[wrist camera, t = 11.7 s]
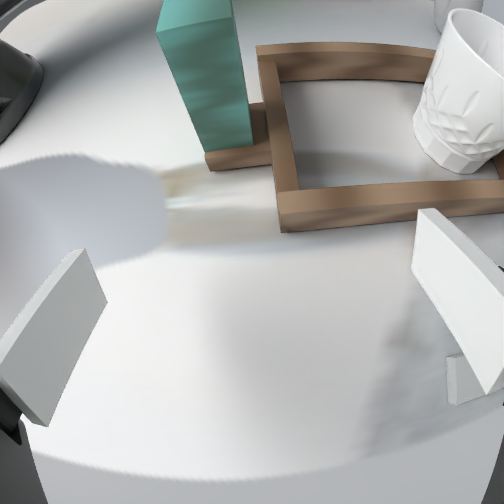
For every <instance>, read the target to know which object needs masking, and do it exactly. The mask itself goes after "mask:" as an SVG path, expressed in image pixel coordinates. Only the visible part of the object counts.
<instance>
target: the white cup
mask: <svg viewBox="0 0 504 504" xmlns="http://www.w3.org/2000/svg"><path fill="white" fill-rule="evenodd" d="M412 121H413V127H414V133H415V137H416V138H417V140H418V141H419V143H420V145H421V146H422V148H423V150H424V151H425V153H426V154H428V155H429V156H430V157H431V158H432V159H433V160H434V161H435V162H436V163H438V164H439V165H440V166H441V167H444V168H446V169H448V170H450V171H453V172H455V173H457V174H469V173H474V172H475V171H476V170H478V169H479V168H480V167H481V166H483V165H484V164H485V163H486V162H487V161H488V160H489V159H491V158H492V157H493V156H496V155H498V154H499V153H500V152H501V151H502V150H503V149H504V25H503V24H501V23H499V22H498V21H496V20H494V19H492V18H491V17H489V16H486V15H484V14H482V13H479V12H477V11H474V10H470V9H465V8H456V9H453V10H451V11H450V12H449V14H448V17H447V20H446V23H445V26H444V30H443V33H442V36H441V39H440V42H439V44H438V47H437V50H436V53H435V56H434V59H433V62H432V64H431V67H430V70H429V72H428V75H427V78H426V81H425V85H424V87H423V90H422V96H421V99H420V103H419V105H418V107H417V110H416V112H415V114H414V116H413V119H412Z"/></svg>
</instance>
